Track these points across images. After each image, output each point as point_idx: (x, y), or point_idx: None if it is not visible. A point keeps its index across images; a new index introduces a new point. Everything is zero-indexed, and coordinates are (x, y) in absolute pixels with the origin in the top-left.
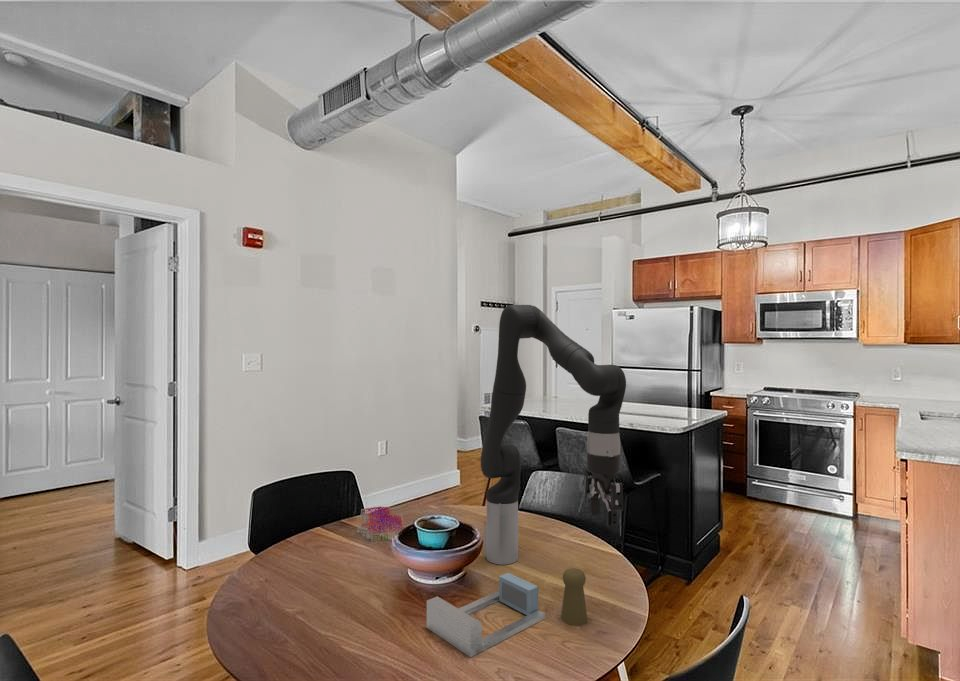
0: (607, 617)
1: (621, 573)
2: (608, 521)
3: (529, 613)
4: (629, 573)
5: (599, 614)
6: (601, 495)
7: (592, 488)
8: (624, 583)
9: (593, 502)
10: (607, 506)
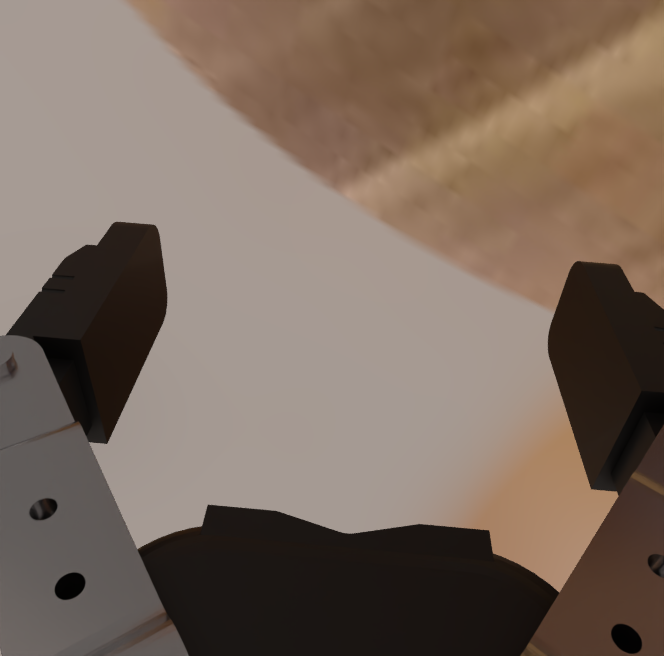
0: (352, 36)
1: None
2: (93, 256)
3: None
4: None
5: (389, 11)
6: (101, 503)
7: (583, 578)
8: None
9: (616, 387)
10: (16, 385)
